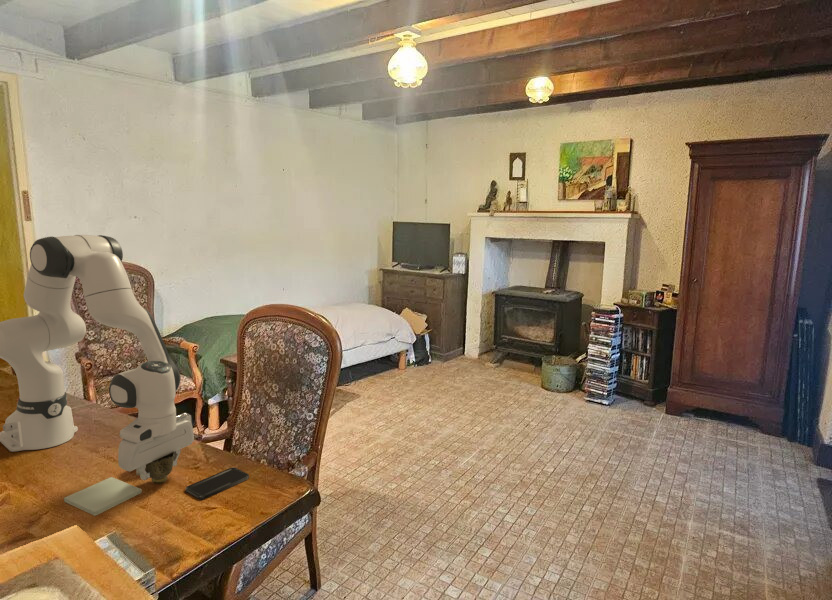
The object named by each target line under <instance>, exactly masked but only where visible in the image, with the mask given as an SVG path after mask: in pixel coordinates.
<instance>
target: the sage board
mask: <svg viewBox="0 0 832 600" xmlns="http://www.w3.org/2000/svg"><path fill="white" fill-rule="evenodd" d="M140 494H142V488H140V487H138V486H134V485H133V484H129V483H127V482H125V481H122V480H120V479H117V478H116V477H112V476H110V477H108V478H106V479H104V480H101V481H99V482H97V483H95V484H92V485H90V486H87V487H86V488H83V489H81V490H78V491H76V492H73V493H72V494H70V495H68V496H65V497H63V500H64V503H67V504H68V505H71V506H73V507H74V508H77V509H79V510H80V511H81V510H82V511H83V512H86V513H88V514H90V515H92V516H94V517H96V516H98V515H100V514H102V513H104V512H106V511H108V510H109V509H112V508H114V507H116V506H118V505H120V504H122V503H123V502H125V501H128V500H130V499H131V498H135V497H136V496H139V495H140Z"/></svg>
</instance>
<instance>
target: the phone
mask: <svg viewBox="0 0 832 600" xmlns="http://www.w3.org/2000/svg"><path fill="white" fill-rule="evenodd" d="M248 479H250V474H248V473H247V472H245V471H243V470H241V469H238V468H237V467H229V468H227V469H223V471H220V472H218V473H216V474H212V475H211V476H208V477H206V478H203V479H201V480H199V481H197V482H193V483H192V484H189V485H187V486H186V487H185V492H186V493H188V494H189V495H191V496H192V497H194V498H195V499H198V501H199V500H201V501H203V500H206V499H208V498H210V497H212V496H215V495H217V494H219V493H221V492H224V491H225V490H227V489H231V488H232V487H234V486H236V485H238V484H241V483H243V482H245V481H247V480H248Z"/></svg>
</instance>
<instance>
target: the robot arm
mask: <svg viewBox="0 0 832 600" xmlns="http://www.w3.org/2000/svg"><path fill="white" fill-rule="evenodd" d="M123 254H124V253H123V249H122V246H121V244H120V242H119V241H118V240H116V238H114V237H111V236H107V235H94V234H93V235H92V234H75V235H63V236H62V235H61V236H46V237H41V238H39V239H38V238H37V239H36V240H34V242H33V243H32V245H31V247H30V250H29V259H30V267H29V270H28V274H27V279H26V282H25V287H24V291H23V299H24V301H25V303H26V304H27V306H28V307H30V308H31V309H33V310H35V311H36V312H38V313H37V314H36V315H32V316H23V317H18V318H17V317H15V318H9V319H6V320H3V321H0V359H2V360H3V361H5V362H7V364H9V366H11V367H12V369H13V371H14V372H15V373H14V374H16V378H17V379H16V380H17V384H18V385H17V386H18V392H19V397H16V402H17V403H16V409H15V411H13V412H12V413H11V414H10V415H9V416H7V417H6V418H5V423H4V424H3V425H2V431H0V443H1V444H2V445H3V446H4V447H5V448H6V449H7V450H8V451H9V452H19V451H21V452H22V451H31V450H32V451H33V450H35V451H36V450H41V449H42V450H43V449H48V448H52V447H56V446H59V445H62V444H65V443H67V442H68V441H70V440H71V439H73V438H74V436H75V433H76V432H77V431H78V430H79V428H78V426H77V425H74V418H73V411H72V408H71V406H69V405H68V396H67V392H66V391H65V375H64V370H63V369H62V368H61V366H59V365H58V364H56V363H53V362H50V361H46V360H45V359H44V356H43V353H45V352H48V351H54V350H57V349H59V350H60V349H63V348H67V347H70V346H72V345H75V344H77V343H80V342H82V341H83V339H84V338H85V336H86V333H87V325H86V322H85V320H84V319H83V318H82V316H81V315H79V314H78V313H76V312H74V311H73V309H72V306H71V301H72V295H73V291H74V286H75V283H76V278H77V279H78V280H80V283H81V286H82V292H83V296H84V300H85V305H86V308H87V311H88V313H89V314H90V316H91V317H92V319H93V320H95V321H96V322H98V323H99V324H101V325H103V326H107V327H110V328H113V329H114V328H115V329H121V330H124V331H127V332H129V333H132V334H133V335H135V337H137V339H138V341H139V343H140V345H141V347H142V349H143V350H142V351H143V352H144V354H145V357H146V359H147V361H145V362H143V363H141V364H139V366H138V367H136V368H132V369H128V370H125V371H123V372H122V371H121V372H119V373H118V374H115V375H114V376H113V377H112V378H111V380H110V382H109V387H108V393H109V399H110V400H111V402H112V403H114V404H115V405H116V406H118V407H120V408H122V409H123V408H124V409H134V408H136V409H137V410H138V415H137V416H138V417H136V418H135V419H134V420H133V421H131V422H130V423H129V424H128V425H126V426H125V427H123V428H122V429H121V430H119V437H120V438H121V441H120V443H119V445H118V451H117V452H118V453H117V455H118V456H117V458H118V459H117V460H118V463H117V464H118V467H120V469H122V470H124V471H127V472H132V471H134V470H135V471H136V469H137V470H138V471H139V472H140V475H139V477H140V479H141V480H143V481H146V480H148V479H151V478H150V476H149V475H150V472H148V471H146V470H144V469H145V468H146V464H148V463H150V462H152V461H155V460H157V459H159V458H162V457H164V456H166V455H168V454H171V453H173V452H174V460H173V467H176V466H177V465H178V459H179V456H180V454H181V452H182V451H181V449H183V448H186V447H188V446H191V445H192V444H193V443H194V439H195V436H194V427H193V424H192V415H191V414H190V413H187V412H182V413H181V414H179V415H177V408H176V405H175V398H176V392H177V391H178V389H179V387H180V383H181V379H182V376H181V372H180V371H179V368H178V367H177V365H176V364H175V362H174V360H173V359H172V357H171V356H170V353H169V351H168V349H167V346H166V343H165V342H164V339H163V337H162V335H161V333H160V330H159V328H158V326H157V323H156V321H155V320H154V318H153V315H152V314H151V313H150V311H149V310H148V309H146V308H144V307H143V306H142V305H141V304H140V303H139V301H138V299H137V298H136V297H135V294H134V291H133V287H132V285H131V282H130V279H129V276H128V274H127V271H126V269H125V267H124V265H123V256H124V255H123Z"/></svg>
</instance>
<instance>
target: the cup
mask: <svg viewBox="0 0 832 600" xmlns="http://www.w3.org/2000/svg"><path fill="white" fill-rule="evenodd" d="M173 460H174V452H173V453H171V454H168V455H166V456H164V457H162V458H159V459H157V460H155V461H152V462H150V463H148V464H146V468H145V470H146V471H148V472H150V475H149V476H150V478H149V479H151V482H152V483H153V484H156V485H160V484H163V483H165V482H166V481H167V480H168V476H170V474H171V472H172V470H173V468H174V466H173Z"/></svg>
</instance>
